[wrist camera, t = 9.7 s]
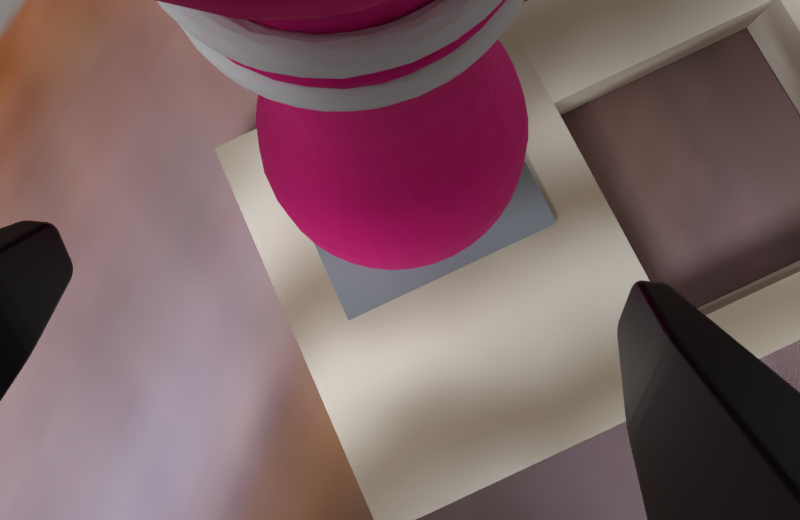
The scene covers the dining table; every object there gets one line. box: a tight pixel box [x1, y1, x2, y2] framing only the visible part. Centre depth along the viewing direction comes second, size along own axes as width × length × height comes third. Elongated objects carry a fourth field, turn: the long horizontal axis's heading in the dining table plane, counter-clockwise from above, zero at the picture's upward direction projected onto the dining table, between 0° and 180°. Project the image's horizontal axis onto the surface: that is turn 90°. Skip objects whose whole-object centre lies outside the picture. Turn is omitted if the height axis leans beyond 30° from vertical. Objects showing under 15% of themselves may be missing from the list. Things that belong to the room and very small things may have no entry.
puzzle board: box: [214, 0, 800, 520], centre depth 20 cm, size 15×22×2 cm
